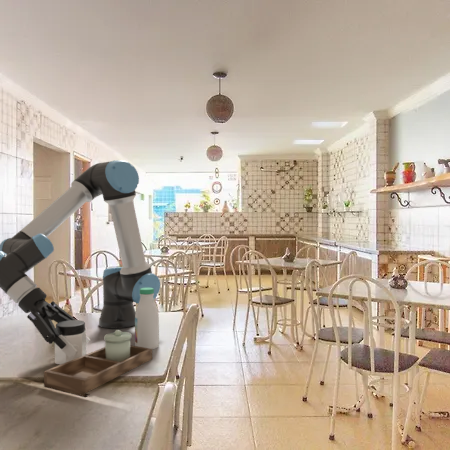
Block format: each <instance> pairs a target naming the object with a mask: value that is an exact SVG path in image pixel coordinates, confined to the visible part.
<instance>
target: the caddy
mask: <svg viewBox="0 0 450 450" xmlns="http://www.w3.org/2000/svg"><path fill="white" fill-rule="evenodd" d="M151 360H153V349H149V348H143V347H138V346H135V345H133V344H130V358H128V359H126V360H124V361H122V362H118V361H113V360H107V359H106V353H105V346H104V347H101V348H99V349H96V350H94V351H91V352H88V353H86V355H84V356H81V357H79V358H76V359H74V360H71V361H69V362H66V363H64V364H61V365H60V364H57V365H56V366H54V367H51V368H48V369H46V370H44V371H43V381H44V382H43V388H48V389H51V390H56V391H59V392H64V393H67V394H71V395H74V396H78V397H79V396H80V397H82V398H86V397H88V396H90V391H92V390H94V389H96V388H98V387H100V386H102V385H105V384H106V383H108V382H111V381H112V380H114V379H116V378H118V377H120V376H122V375H124V374H126V373H128V372H130V371H131V370H134V369H136V368H137V367H139V366H141V365H143V364H145V363H147V362H149V361H151ZM88 392H89V393H88Z"/></svg>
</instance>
